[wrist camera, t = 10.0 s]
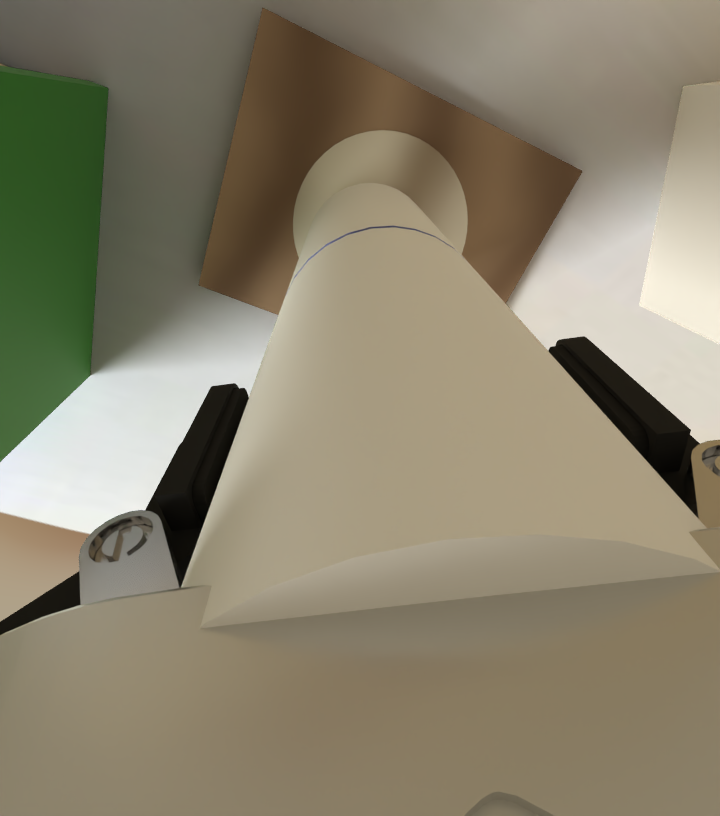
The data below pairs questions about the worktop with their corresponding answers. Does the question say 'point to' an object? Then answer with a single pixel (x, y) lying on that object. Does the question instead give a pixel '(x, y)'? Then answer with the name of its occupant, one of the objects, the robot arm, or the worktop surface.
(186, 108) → the worktop surface
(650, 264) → the milk
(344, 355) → the cylindrical container
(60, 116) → the hardback book
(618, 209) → the worktop surface
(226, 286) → the walnut board
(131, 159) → the worktop surface
